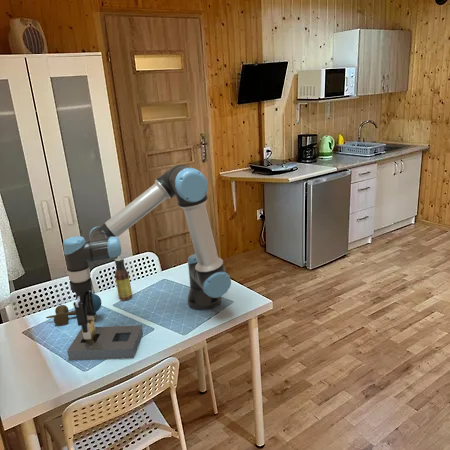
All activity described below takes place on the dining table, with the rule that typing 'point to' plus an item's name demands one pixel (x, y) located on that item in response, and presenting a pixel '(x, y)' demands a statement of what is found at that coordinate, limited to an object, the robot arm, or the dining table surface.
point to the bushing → (92, 330)
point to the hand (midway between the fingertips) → (89, 334)
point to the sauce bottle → (122, 280)
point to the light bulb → (96, 304)
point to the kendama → (61, 315)
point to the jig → (107, 343)
